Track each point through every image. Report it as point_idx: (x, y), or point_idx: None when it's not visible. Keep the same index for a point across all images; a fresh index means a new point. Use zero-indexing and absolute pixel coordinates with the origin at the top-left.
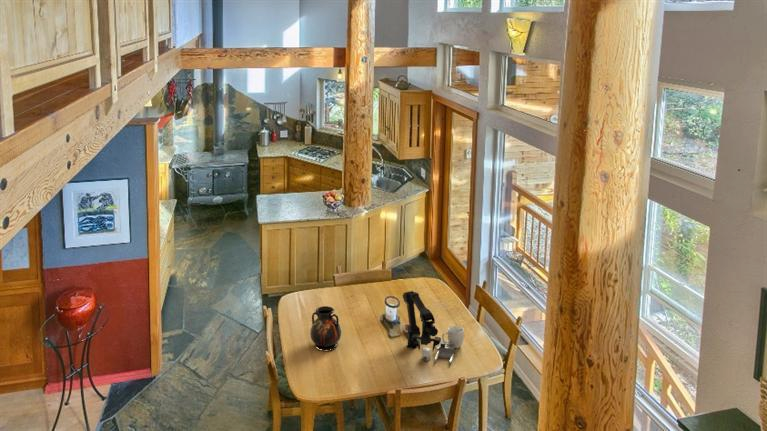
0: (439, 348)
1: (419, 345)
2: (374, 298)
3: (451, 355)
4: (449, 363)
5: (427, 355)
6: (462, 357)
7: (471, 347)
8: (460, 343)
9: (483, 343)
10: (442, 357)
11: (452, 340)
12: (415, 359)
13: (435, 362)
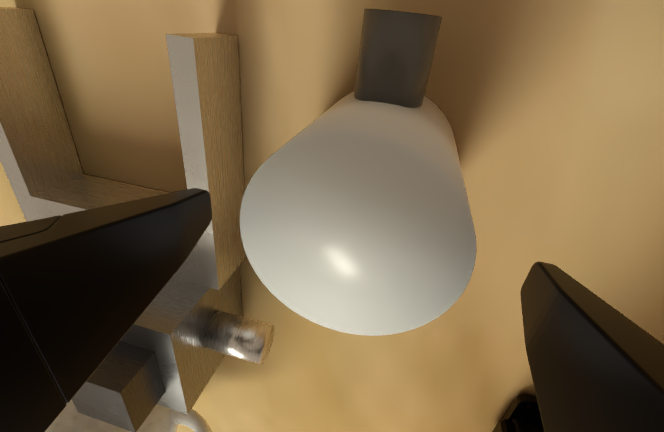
0: (170, 315)
1: (582, 393)
2: None
3: (38, 194)
4: (3, 9)
5: (331, 113)
6: (15, 210)
7: None
8: None
9: None
10: None
11: (68, 426)
12: (581, 124)
13: (214, 33)
